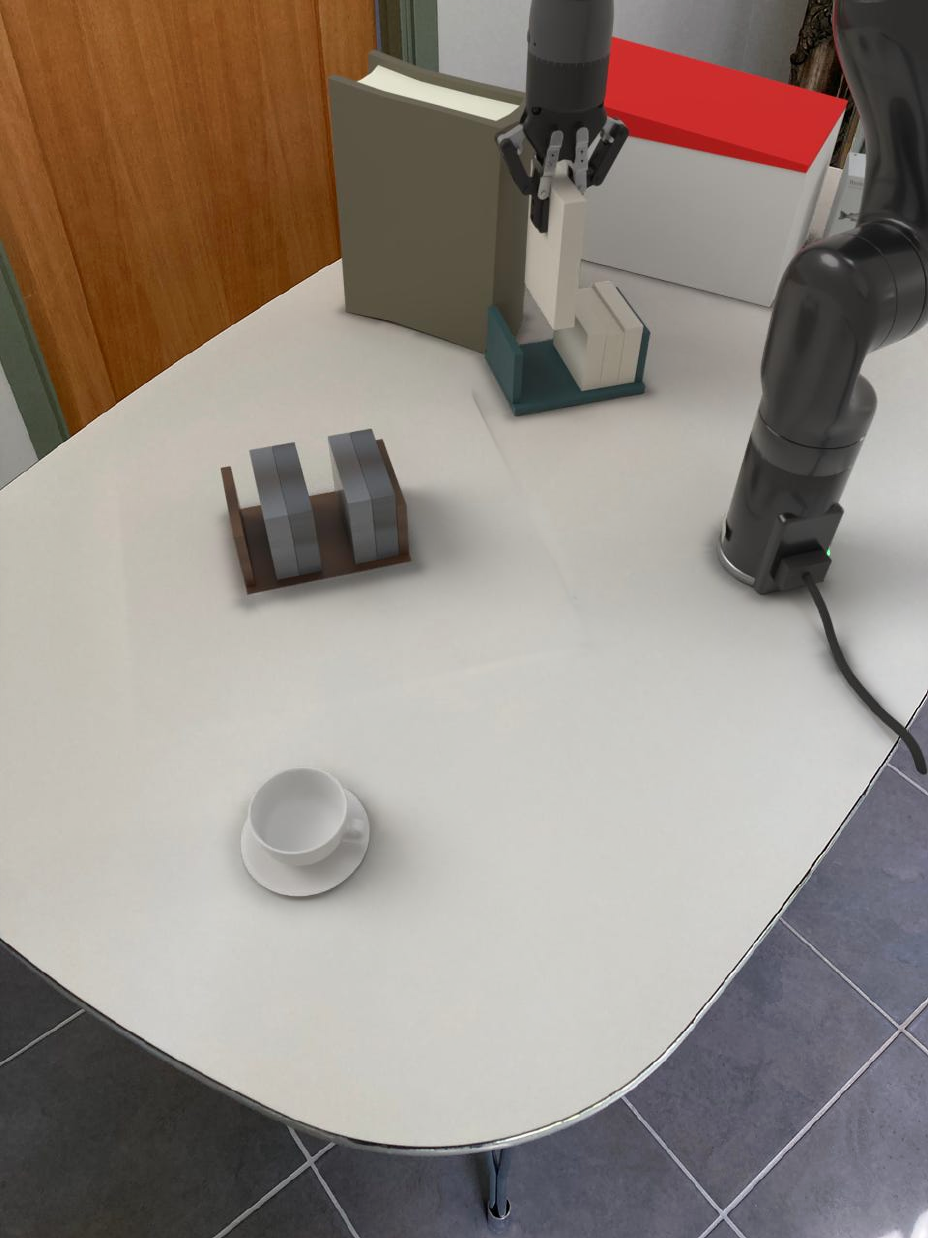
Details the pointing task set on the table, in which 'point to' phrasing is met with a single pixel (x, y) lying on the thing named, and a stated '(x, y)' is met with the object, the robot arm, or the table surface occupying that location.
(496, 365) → the teal book rack
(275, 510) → the brown book rack
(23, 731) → the table surface
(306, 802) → the teacup
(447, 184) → the book
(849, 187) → the white packaging box
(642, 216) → the red-lidded white box
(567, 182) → the white book
